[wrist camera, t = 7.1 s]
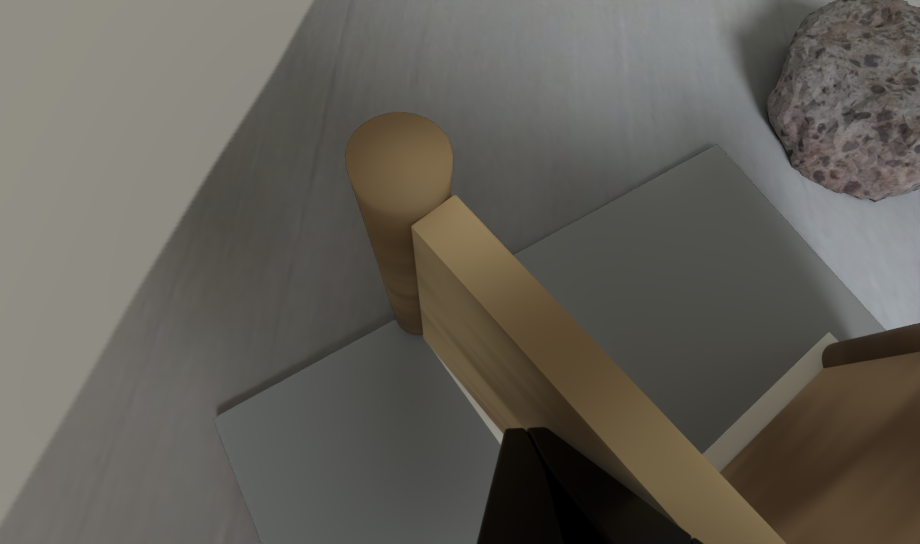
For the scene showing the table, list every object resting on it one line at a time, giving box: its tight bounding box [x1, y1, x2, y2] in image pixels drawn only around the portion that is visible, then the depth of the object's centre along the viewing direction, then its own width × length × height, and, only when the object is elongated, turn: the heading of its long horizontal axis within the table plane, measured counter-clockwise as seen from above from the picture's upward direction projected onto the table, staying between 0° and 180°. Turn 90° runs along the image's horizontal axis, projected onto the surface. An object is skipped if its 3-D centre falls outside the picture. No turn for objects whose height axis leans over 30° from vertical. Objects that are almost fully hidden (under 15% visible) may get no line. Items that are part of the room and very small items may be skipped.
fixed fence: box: [720, 323, 920, 544], centre depth 11 cm, size 13×2×11 cm, turn 126°
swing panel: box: [345, 112, 786, 544], centre depth 11 cm, size 11×2×10 cm, turn 41°
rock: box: [766, 0, 920, 202], centre depth 20 cm, size 9×11×4 cm
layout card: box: [213, 144, 886, 544], centre depth 16 cm, size 16×24×1 cm, turn 120°
